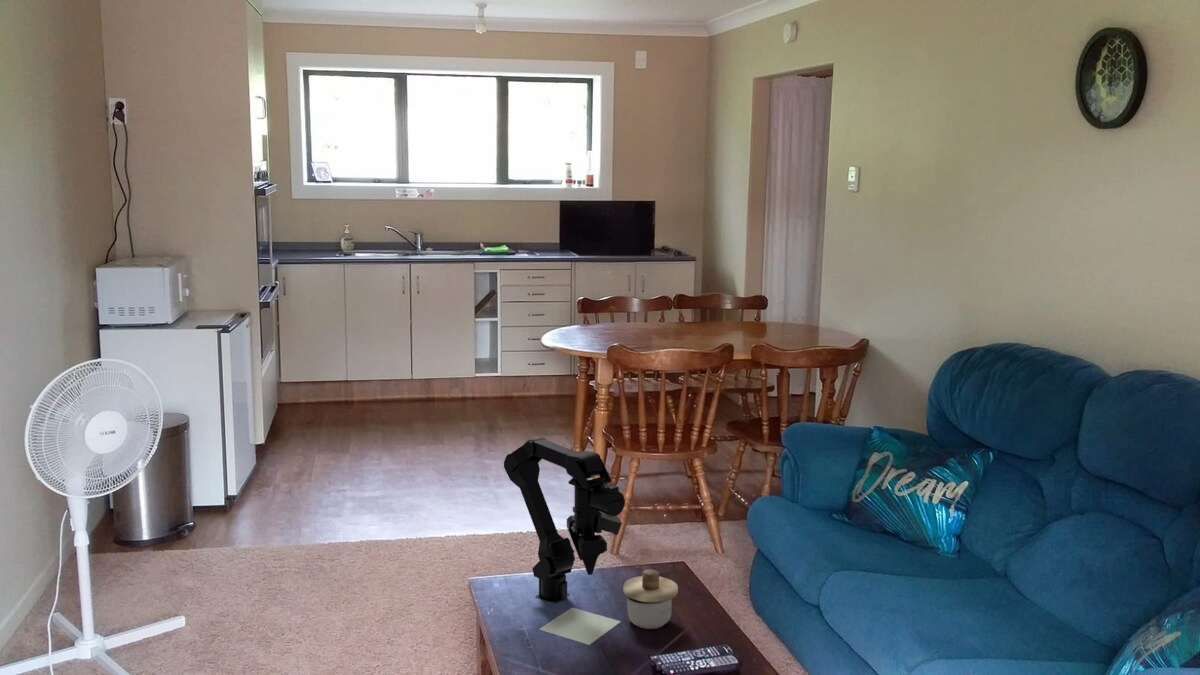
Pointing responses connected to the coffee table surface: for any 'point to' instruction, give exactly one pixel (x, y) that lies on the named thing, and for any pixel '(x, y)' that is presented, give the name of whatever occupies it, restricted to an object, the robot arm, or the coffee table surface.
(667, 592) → the oak lid
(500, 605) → the coffee table surface
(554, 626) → the sage mat
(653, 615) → the teacup
